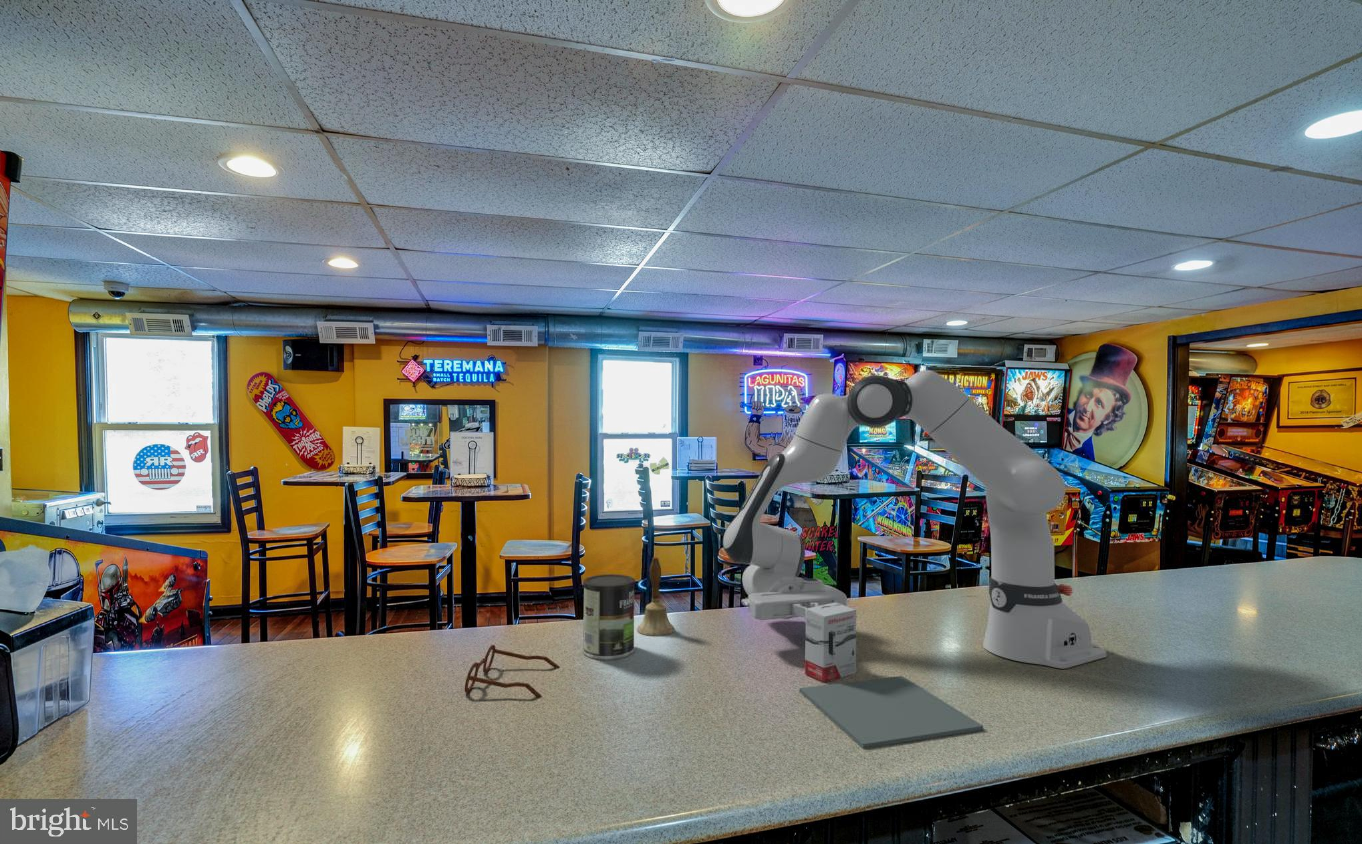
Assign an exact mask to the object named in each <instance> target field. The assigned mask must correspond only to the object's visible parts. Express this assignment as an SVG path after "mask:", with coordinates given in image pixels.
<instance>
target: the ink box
mask: <svg viewBox="0 0 1362 844" xmlns="http://www.w3.org/2000/svg"><path fill="white" fill-rule="evenodd" d="M804 644H805V645H804V646H805V647H804V648H805V649H804V650H805V651H804V655H805V656H804V674H805V675H807V676H809V677H810V678H811V677H812V678H813V679H815V680H817V681H819V682H821V681H822V682H821V683H824V684H825V683H828V681H829V682H831V680H832V681H834V680H835V681H836V680H837V679H841V678H844V676H845V677H848V676H851V675H854V674H856V672H857V671H856V670H857V669H856V668H857V667H856V666H857V656H856V655H857V609H854V608H852V607H849V606H848V605H847V606H844V605H842V604H839V603H830V604H826V605H821V606H817V607H812V608H808V609H807V610H806V618H805V643H804Z"/></svg>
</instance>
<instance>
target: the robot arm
mask: <svg viewBox="0 0 1362 844" xmlns="http://www.w3.org/2000/svg"><path fill="white" fill-rule="evenodd" d="M903 417H904V418H907V419H910V420H912V421H913V422H915V424H916V425H918V426H919V427H920V428H921V429H922V430H923V431H924V432H925V434H927V435H928V436H930V438H932V439H933V440H934V441H935V443H936V444H938V445H939V447H941V448H942V449H943V450H944V451H945V452H946V453H947V454H948V455H949V456H950V457H951V458H952V459H953V460H954V461H956V462H957V463H958V464H959V465H960V466H962V467H963V468H964V469H965V470H966V471H968V473H970V474H971V475H972V476H973V477H975V478H976V479H977V480H978V481H979V482H980V483H981V484H982V485H984V486H985V487H984V488H985V501H986V510H987V520H988V525H989V533H990V551H991V553H990V560H991V561H990V562H991V564H990V565H991V568H990V569H991V576H989V578H988V594H989V598H990V602H989V607H988V609H989V610H988V618H987V625H986V630H985V632H984V640H983V642H982V646H983V648H984V649H985V650H986V651H988V652H990V653H992V654H994V655H996V656H998V657H1001V658H1005V659H1009V660H1012V661H1016V662H1021V663H1027V664H1034V665H1035V664H1036V665H1041V666H1042V665H1043V666H1048V667H1053V668H1056V669H1068V668H1073V667H1074V666H1080V665H1082V664H1087V663H1089V662H1093V661H1096V660H1100V659H1104V658H1106V657H1108V656H1107V651H1106V650H1105V649H1103V648H1102V647H1101V646H1099V645H1096V644H1095V643H1092V642H1093V641H1092V633H1091V628H1090V625H1089V624H1088V622H1087V621H1086V620H1085V619H1084V618H1082V617H1081V616H1080V615H1078V613H1076V612H1075V611H1073V610H1072V609H1071V608H1070V607H1068V605H1066V604H1065V603H1064V601H1063V598H1062V595H1064V596H1066V597H1070V596H1072V594H1073V593H1074V590H1073V587H1072V586H1071V585H1067V584H1066V585H1065V584H1063V583H1060V584H1058V585H1057V584H1056V582H1055V543H1054V540H1053V537H1052V533H1051V530H1050V525H1049V519H1048V515H1047V514H1048V512H1051V511H1053V510H1055V509H1057V507H1059V506H1060V505H1061V503H1062V502H1063V500H1064V498H1065V495H1066V483H1065V480H1064V478H1063V476H1062V475H1061V473H1060V472H1059V471H1058V470H1057V469H1056V468H1055V467H1053V465H1052V464H1050V463H1049V462H1048V461H1047V460H1046V459H1044V458H1043V457H1042V456H1040V455H1039V454H1038V453H1037V452H1035V450H1033V449H1032V448H1031V447H1029V446H1028V445H1027V444H1025V442H1023V441H1022V440H1020V439H1019V438H1018V437H1016V436H1015V435H1013V433H1012V432H1010V431H1008V430H1007V429H1006V428H1004V427H1003V425H1001V424H999V422H997V420H995V419H994V418H993V417H992V416H991V415H990V414H988V413H987V412H986V411H985V410H984V408H982V407H981V406H980V405H979V404H977V403H976V402H975V401H974V400H973V399H972V398H971V397H970V396H969V395H967V394H966V393H965V392H964V391H963V390H962V389H961V388H959V387H958V386H957V385H956V384H954V383H953V382H952V381H950V380H948V379H947V378H945V377H944V376H942V375H941V374H940V373H938V372H936V371H935V370H934V371H933V370H929V369H925V370H921V371H918V372H916V373H914V374H912V375H910V377H908V378H907V379H906V380H899V379H895V378H892V377H888V376H884V375H878V374H877V375H876V374H874V375H868V376H864V377H862V378H860V379H859V380H857V381H856V382H855V383H854V384H853V385H852V387H851V389H850V390H849V393H848V394H846V395H843V396H842V395H837V394H834V393H821V394H817V395H816V396H815V397H813V398H812V399H811V401H810V402H809V403H808V406H807V408H806V409H805V411H804V412H803V415H802V417H801V419H800V421H799V424H798V425H797V428H796V431H795V432H794V435H793V437H792V439H791V441H790V443H789V444H788V445H787V447H785V449H784V450H783V451H781V452H780V453H777V454H774V455H772V456H771V457H770V458H769V459H768V461H767V462H766V464H765V465H764V467H763V468H762V470H761V472H760V474H759V475H758V476H757V478H756V481H755V482H754V484H753V486H752V487H751V489H750V490H749V492H748V495H747V496H746V498H745V500H744V501H743V503H742V504H741V506H740V509H739V510H738V512H737V513H736V515H735V516H734V517H733V518H732V520H731V521H730V522H729V523H728V525H727V527H726V529H725V531H724V534H723V537H722V546H723V549H724V552H725V553H726V555H727V557H728V558H729V559H730V560H731V562H733V563H736V564H744V565H749V566H747V567H746V568H745V569H744V571H743V573H742V576H741V577H742V578H741V580H742V581H741V582H742V586H743V589H744V591H745V593H746V594H747V595H748V596H747V597H745V598H742V599H741V605H743V606H744V607H748V612H749V615H751V616H752V618H754V619H755V620H760V621H768V620H777V619H781V620H790V619H793V618H799V617H800V618H804V619H806V610H807V609H808V608H812V607H817V606H821V605H826V604H830V603H839V604H842V605H844V606H847V607H848V598H847V595H846V594H845V593H844V592H843V591H841V590H839V589H838V588H835V587H834V586H831V585H829V584H824V582H823V580H822V579H819V578H812V577H810V578H808V577H799V575H800V573H801V571H802V570H803V567H804V563H805V559H806V550H805V545H804V542H803V540H802V538H801V536H800V535H799V533H798V532H796V531H793V530H791V529H785V528H783V527H779V526H774V525H771V524H767V523H765V522H764V523H763V522H760V520H761V519H762V517H763V516H764V514H765V512H766V510H767V508H768V507H769V505H770V502H772V500H773V498H774V496H775V495H776V493H777V492H778V491H779V490H781V489H782V488H785V487H786V486H787V487H788V486H791V485H795V484H803V483H804V484H806V483H812V482H813V483H814V482H818V481H821V480H823V479H826V478H827V477H829V476H830V475H831V474H832V473H833V472H834V471H835V469H836V468H837V466H838V464H839V462H840V460H841V456H842V454H843V451H844V449H845V445H846V443H847V441H848V439H849V437H850V435H851V433H852V431H853V430H854V429H855V428H857V427H859V426H864V427H868V428H871V429H872V428H873V429H877V428H879V429H880V428H883V427H886V426H888V425H890V424H892V423H893V422H895V421H897V420H899V419H901V418H903Z"/></svg>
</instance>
